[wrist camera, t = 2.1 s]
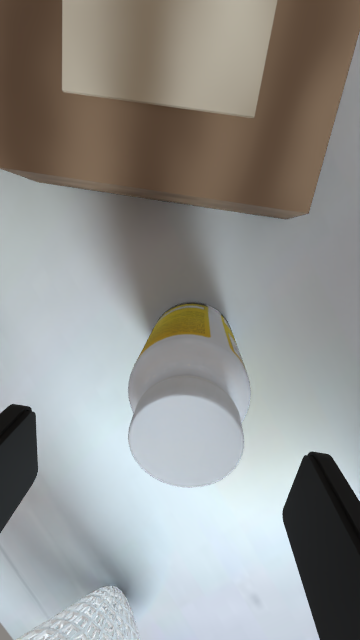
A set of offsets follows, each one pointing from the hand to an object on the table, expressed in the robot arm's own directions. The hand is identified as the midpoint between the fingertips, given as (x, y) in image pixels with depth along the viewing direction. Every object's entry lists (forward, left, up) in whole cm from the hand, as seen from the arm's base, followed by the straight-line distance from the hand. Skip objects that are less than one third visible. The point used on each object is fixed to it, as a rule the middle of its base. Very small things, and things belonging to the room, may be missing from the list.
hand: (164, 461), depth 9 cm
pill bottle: (-1, 0, -13) cm, 13 cm away
